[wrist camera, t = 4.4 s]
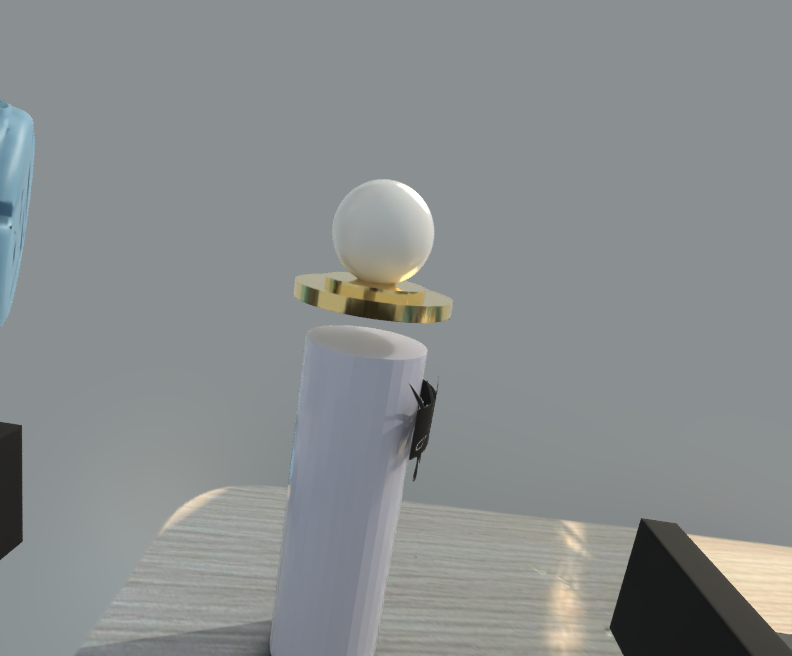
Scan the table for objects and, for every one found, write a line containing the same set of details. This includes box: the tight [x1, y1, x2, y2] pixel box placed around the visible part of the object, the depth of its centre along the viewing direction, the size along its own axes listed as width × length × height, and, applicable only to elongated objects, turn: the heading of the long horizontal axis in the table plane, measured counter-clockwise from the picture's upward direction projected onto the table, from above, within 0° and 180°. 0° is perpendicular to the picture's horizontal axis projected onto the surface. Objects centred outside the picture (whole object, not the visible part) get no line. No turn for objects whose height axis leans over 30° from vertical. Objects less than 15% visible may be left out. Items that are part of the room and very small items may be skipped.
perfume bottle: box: [269, 179, 453, 656], centre depth 19 cm, size 6×6×20 cm
